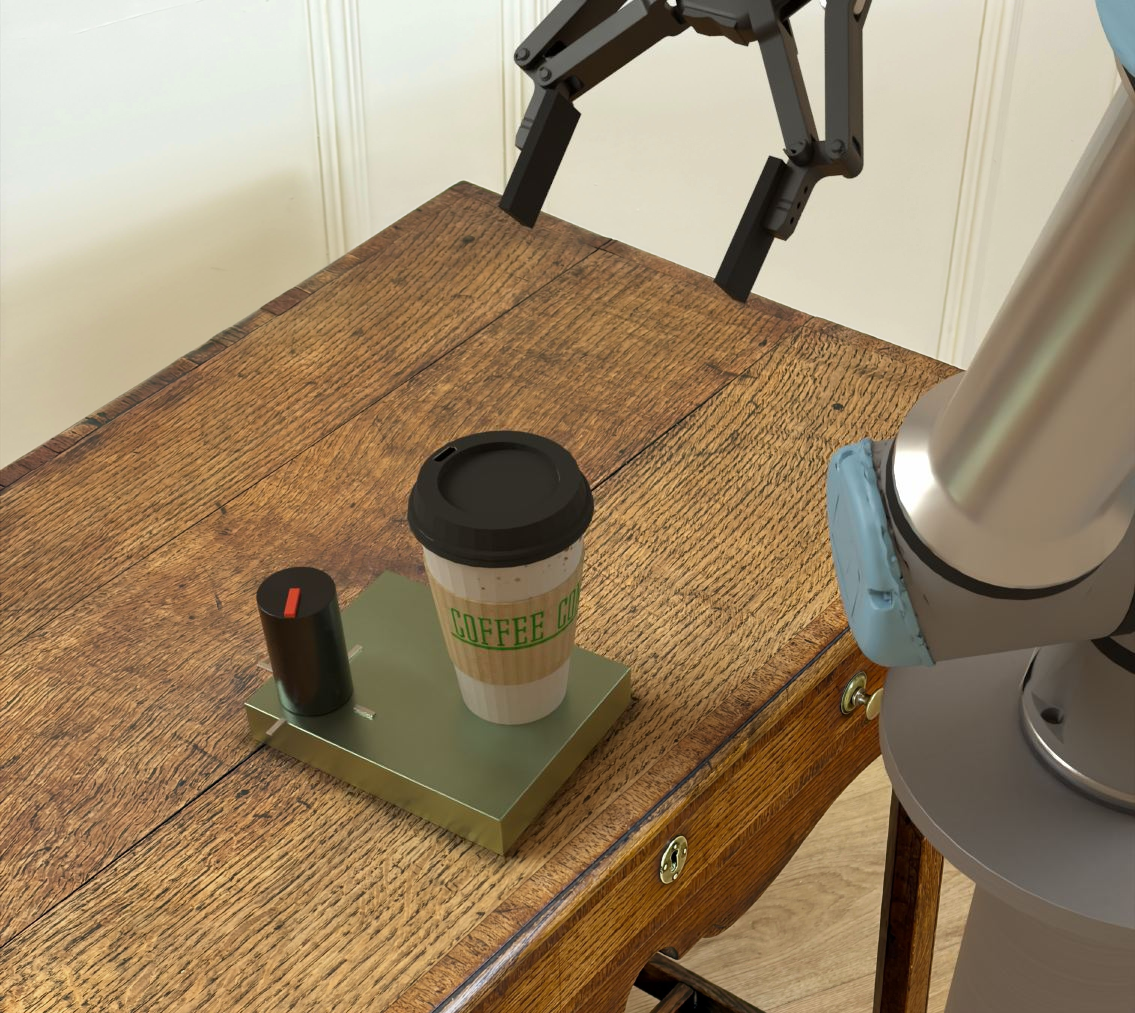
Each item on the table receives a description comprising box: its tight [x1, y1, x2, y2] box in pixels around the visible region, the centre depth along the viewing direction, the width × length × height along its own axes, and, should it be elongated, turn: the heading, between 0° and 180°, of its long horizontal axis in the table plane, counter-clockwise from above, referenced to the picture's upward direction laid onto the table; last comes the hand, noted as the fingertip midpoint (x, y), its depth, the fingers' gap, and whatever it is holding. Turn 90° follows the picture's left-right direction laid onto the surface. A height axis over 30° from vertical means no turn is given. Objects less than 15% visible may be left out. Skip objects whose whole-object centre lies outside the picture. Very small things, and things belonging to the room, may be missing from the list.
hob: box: [243, 569, 632, 857], centre depth 94 cm, size 19×15×3 cm
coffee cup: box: [406, 429, 595, 725], centre depth 87 cm, size 10×10×15 cm
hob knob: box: [255, 566, 353, 716], centre depth 90 cm, size 4×4×8 cm
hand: (618, 255), depth 82 cm, fingers open, 13 cm apart
